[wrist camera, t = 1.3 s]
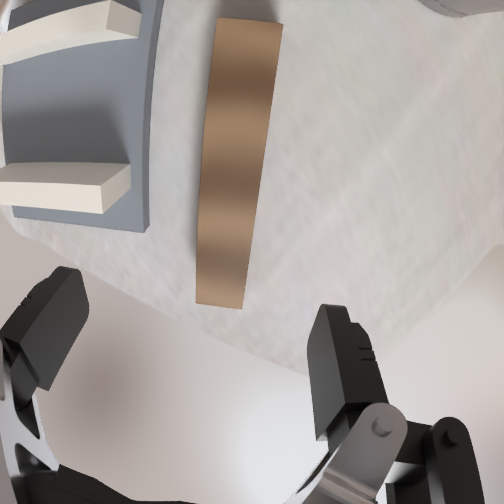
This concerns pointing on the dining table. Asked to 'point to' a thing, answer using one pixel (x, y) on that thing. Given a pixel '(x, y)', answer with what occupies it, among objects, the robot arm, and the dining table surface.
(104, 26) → the ridge stand
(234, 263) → the brown wooden bar
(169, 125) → the dining table surface
